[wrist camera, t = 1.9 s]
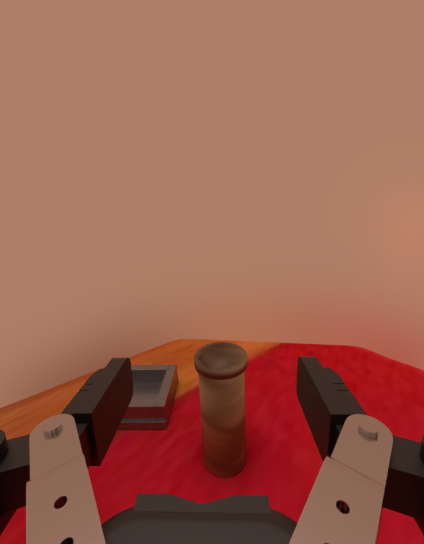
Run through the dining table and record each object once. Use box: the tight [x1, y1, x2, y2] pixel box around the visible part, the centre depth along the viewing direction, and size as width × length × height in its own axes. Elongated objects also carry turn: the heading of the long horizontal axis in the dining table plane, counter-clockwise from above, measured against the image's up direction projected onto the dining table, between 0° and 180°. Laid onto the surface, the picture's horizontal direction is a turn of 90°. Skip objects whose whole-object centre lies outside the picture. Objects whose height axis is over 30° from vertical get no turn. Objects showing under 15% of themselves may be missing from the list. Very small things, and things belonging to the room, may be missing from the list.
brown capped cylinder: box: [194, 342, 247, 478], centre depth 26 cm, size 5×5×12 cm
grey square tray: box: [117, 365, 178, 430], centre depth 35 cm, size 10×9×3 cm
